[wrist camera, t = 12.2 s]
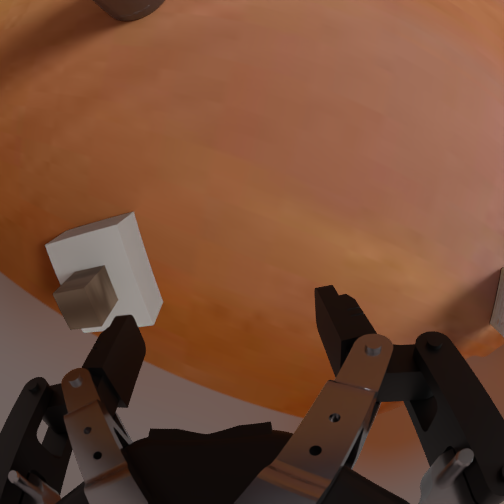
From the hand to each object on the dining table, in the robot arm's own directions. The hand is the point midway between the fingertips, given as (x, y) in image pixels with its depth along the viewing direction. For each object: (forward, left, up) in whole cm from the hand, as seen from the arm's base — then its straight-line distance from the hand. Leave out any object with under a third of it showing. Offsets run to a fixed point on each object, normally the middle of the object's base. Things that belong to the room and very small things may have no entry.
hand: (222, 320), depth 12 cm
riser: (+6, -19, -27) cm, 33 cm away
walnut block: (+6, -19, -21) cm, 29 cm away
